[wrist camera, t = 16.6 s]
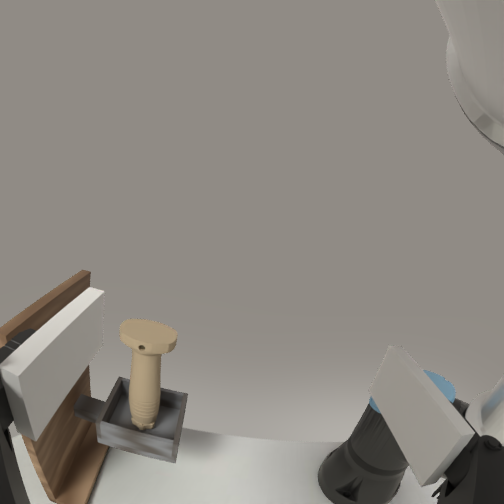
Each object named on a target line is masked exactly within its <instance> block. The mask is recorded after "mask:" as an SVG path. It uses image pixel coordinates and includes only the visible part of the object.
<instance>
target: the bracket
mask: <svg viewBox="0 0 504 504" xmlns="http://www.w3.org/2000/svg"><path fill="white" fill-rule="evenodd" d="M90 274H91V272H89V271H85V270H82V271H80V272H78V273H77V274H75V275H74V276H72V277H71V278H69V279H68V280H66V281H65V282H63V283H62V284H60V285H59V286H58V287H56V288H55V289H53V290H52V291H50V292H49V293H47V294H46V295H44V296H43V297H42V298H40V299H39V300H37V301H36V302H35V303H33V304H32V305H30V306H29V307H28V308H26V309H25V310H24V311H22V312H21V313H19V314H18V315H17V316H15V317H14V318H13V319H11V320H10V321H8V322H7V323H6V324H4V325H3V326H2V327H1V328H0V348H1V347H3V346H5V344H6V343H7V342H8V341H11V339H12V338H13V337H14V336H16V335H17V334H18V333H19V332H22V331H24V330H27V329H30V328H31V329H34V330H36V331H37V330H39V329H40V328H41V327H42V326H43V325H44V324H45V323H47V322H48V321H49V320H50V319H51V318H52V317H54V316H55V315H56V314H57V313H58V312H60V311H61V310H62V309H63V308H64V307H66V306H67V305H68V304H69V303H70V302H72V301H73V300H74V299H75V298H76V297H78V296H79V295H80V294H81V293H83V292H84V291H85V290H86V289H88V288H89V287H90ZM129 385H130V380H129V379H125V378H122V377H119V378H118V380H117V381H116V383H115V386H114V387H113V389H112V391H111V393H110V395H109V397H108V399H107V401H106V402H104V401H101V400H98V399H95V398H92V397H91V391H90V376H89V365H88V366H87V367H86V369H85V370H84V372H83V373H82V374H81V376H80V377H79V379H78V380H77V381H76V383H75V384H74V386H73V387H72V389H71V390H70V391H69V393H68V394H67V396H66V397H65V399H64V400H63V402H62V403H61V405H60V406H59V408H58V409H57V410H56V412H55V413H54V415H53V416H52V418H51V419H50V421H49V422H48V424H47V426H46V427H45V429H44V430H43V432H42V433H41V435H40V436H39V438H38V439H37V441H34V440H32V439H30V438H28V437H26V436H24V435H22V434H21V435H22V438H23V440H24V443H25V446H26V448H27V451H28V453H29V456H30V458H31V461H32V463H33V466H34V468H35V470H36V473H37V475H38V477H39V479H40V481H41V484H42V486H43V488H44V490H45V492H46V494H47V496H48V498H49V500H50V501H53V502H55V503H57V504H87V503H88V500H89V497H90V494H91V492H92V489H93V486H94V484H95V481H96V479H97V476H98V473H99V471H100V468H101V466H102V463H103V461H104V458H105V455H106V453H107V451H108V448H109V446H111V447H114V448H117V449H121V450H124V451H128V452H131V453H135V454H138V455H142V456H146V457H150V458H154V459H158V460H163V461H167V462H172V463H176V458H177V452H178V446H179V441H180V435H181V430H182V424H183V419H184V413H185V408H186V402H187V395H188V394H186V393H182V392H177V391H172V390H168V389H164V388H160V405H159V410H158V415H157V418H156V422H155V425H154V428H152V429H145V430H140V429H139V428H138V427H137V426H136V425H134V424H133V423H132V419H131V417H132V415H131V411H130V405H129Z"/></svg>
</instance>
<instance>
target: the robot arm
mask: <svg viewBox="0 0 504 504" xmlns="http://www.w3.org/2000/svg"><path fill="white" fill-rule="evenodd" d="M435 2H436V4H437V6H438V9H439V11H440V13H441V15H442V18H443V20H444V22H445V25H446V27H447V30H448V32H449V35H450V36H449V40H448V44H447V51H446V64H447V71H448V76H449V80H450V83H451V86H452V88H453V91H454V94H455V96H456V98H457V101H458V103H459V104H460V106H461V108H462V110H463V112H464V114H465V115H466V117H467V118H468V119H469V121H470V122H471V123H472V124H473V126H474V127H475V128H476V129H477V130H478V132H479V133H480V134H481V135H482V136H483V137H484V138H485V139H486V140H487V141H488V142H489V143H490V144H492V145H493V146H494V147H495V148H496V149H498V150H499V151H500V152H501V153H502V154H504V0H435ZM104 296H105V292H104V291H102V290H99V289H94V288H91V287H89V288H88V289H86V290H85V291H84V292H83V293H81V294H80V295H79V296H78V297H76V298H75V299H74V300H73V301H72V302H70V303H69V304H68V305H67V306H66V307H64V308H63V309H62V310H61V311H60V312H58V313H57V314H56V315H55V316H54V317H52V318H51V319H50V320H49V321H48V322H47V323H45V324H44V325H43V326H42V327H41V328H40V329H39V330H37V331H36V330H34V329H31V328H30V329H27V330H24V331H22V332H19V333H18V334H17V335H16V336H14V337H13V338H12V339H11V341H8V342H7V343H6V344H5V346H3V347H1V348H0V504H30V501H29V499H28V496H27V493H26V490H25V487H24V484H23V481H22V477H21V474H20V471H19V467H18V464H17V460H16V456H15V452H14V448H13V444H12V439H11V435H10V432H9V429H8V427H9V425H10V424H11V423H12V421H14V424H15V426H16V429H17V432H18V433H20V434H22V435H24V436H26V437H28V438H30V439H32V440H34V441H37V439H38V438H39V436H40V435H41V433H42V432H43V430H44V429H45V427H46V426H47V424H48V422H49V421H50V419H51V418H52V416H53V415H54V413H55V412H56V410H57V409H58V408H59V406H60V405H61V403H62V402H63V400H64V399H65V397H66V396H67V394H68V393H69V391H70V390H71V389H72V387H73V386H74V384H75V383H76V381H77V380H78V379H79V377H80V376H81V374H82V373H83V372H84V370H85V369H86V367H87V366H88V365H89V363H90V362H91V360H92V359H93V358H94V356H95V355H96V354H97V352H98V351H99V350H100V348H101V347H102V345H103V317H104ZM369 392H370V394H371V397H370V402H369V404H368V406H367V408H366V410H365V412H364V413H363V415H362V417H361V419H360V421H359V422H358V424H357V426H356V427H355V429H354V431H353V433H352V435H351V436H350V438H349V439H348V440H347V441H346V442H344V443H343V444H342V445H341V446H340V447H339V448H337V449H335V450H334V451H332V452H331V453H330V454H329V455H328V456H327V457H326V459H325V460H324V462H323V463H322V465H321V467H320V469H319V472H318V481H319V485H320V487H321V489H322V491H323V493H324V494H325V495H326V496H327V498H328V499H329V500H331V501H332V502H333V503H334V504H388V503H389V502H390V500H391V499H392V498H393V497H394V496H395V495H396V493H397V492H398V489H399V487H400V482H401V480H402V478H403V475H404V472H405V469H406V468H407V467H408V466H409V465H410V467H411V469H412V471H413V473H414V474H415V476H416V478H417V480H418V482H419V484H420V486H426V485H430V484H434V483H436V482H437V481H438V480H439V478H440V477H442V478H444V479H446V480H445V481H444V482H443V483H442V484H441V486H440V487H439V488H438V489H437V490H436V491H435V492H434V493H433V495H432V496H431V497H434V496H435V495H436V494H437V493H439V492H440V495H439V496H438V497H437V499H438V502H437V504H504V374H503V376H502V377H501V378H500V380H499V381H498V383H497V384H496V386H495V387H494V388H493V390H488V391H484V392H482V393H480V394H479V395H477V396H476V397H475V398H474V399H473V400H472V402H471V403H470V404H468V403H466V402H463V401H461V400H458V399H456V398H455V393H456V392H455V388H454V386H453V385H452V384H451V383H450V382H449V381H446V380H445V378H444V377H442V376H440V375H438V374H436V373H433V372H430V371H426V370H422V369H421V368H420V366H419V365H418V364H417V363H416V362H415V361H414V360H413V358H412V357H411V356H410V355H409V354H408V353H407V352H406V350H405V349H404V348H403V347H402V346H394V345H390V346H389V347H388V350H387V352H386V354H385V356H384V359H383V361H382V363H381V365H380V368H379V370H378V372H377V374H376V376H375V378H374V380H373V382H372V384H371V386H370V388H369Z"/></svg>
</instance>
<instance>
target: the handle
mask: <svg viewBox="0 0 504 504" xmlns="http://www.w3.org/2000/svg"><path fill="white" fill-rule="evenodd" d="M120 339H121V341H122V342H123V343H125V344H126V345H127V346H128V347H130V348H131V349H132V365H131V375H130V385H129V405H130V411H131V415H132V417H131V419H132V423H133V424H134V425H136V426H137V427H138V428H139V429H140V430H145V429H152V428H154V425H155V422H156V418H157V415H158V410H159V405H160V369H161V368H160V367H161V355H162V354H164V353H168V352H171V351H172V350H173V349H174V348H175V346H176V341H177V332H176V330H174V329H173V328H170V327H169V326H167V325H165V324H162V323H159V322H155V321H150V320H145V319H128V320H125V321H124V322H123V323H122V324H121V326H120Z"/></svg>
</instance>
